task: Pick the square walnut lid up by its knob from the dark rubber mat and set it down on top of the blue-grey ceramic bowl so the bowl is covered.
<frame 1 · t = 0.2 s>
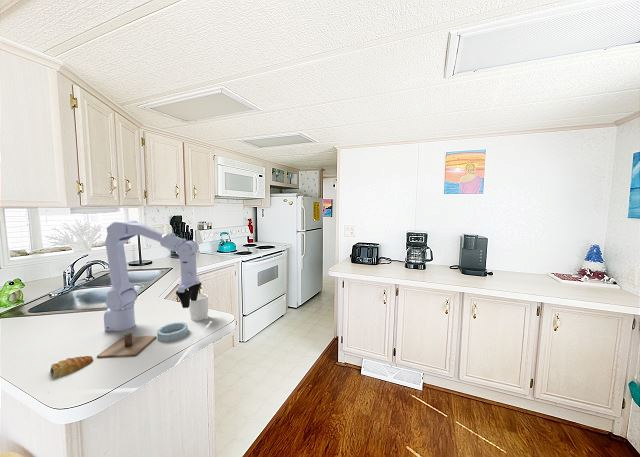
hand: (190, 303, 104), 10 cm above the worktop, tool pointing down, fingers open, 7 cm apart
white cup: (199, 319, 113), on the worktop
mat: (128, 349, 89), on the worktop
bowl: (173, 336, 98), on the worktop
lid: (128, 346, 89), point 1 cm above the worktop, touching mat
pastry: (69, 371, 78), on the worktop
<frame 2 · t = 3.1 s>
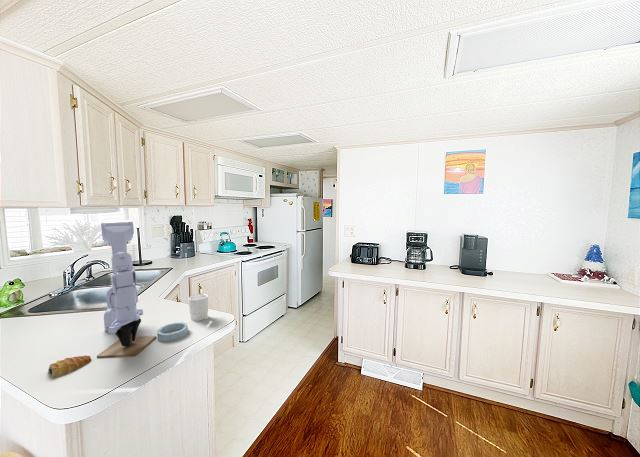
hand: (128, 343, 89), 2 cm above the worktop, tool pointing down, fingers closed on lid, 2 cm apart
lid: (128, 346, 89), point 1 cm above the worktop, touching gripper, mat
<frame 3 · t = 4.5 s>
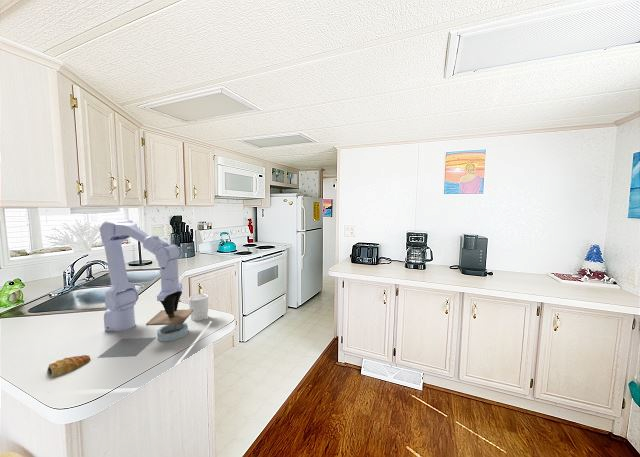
hand: (171, 312, 97), 9 cm above the worktop, tool pointing down, fingers closed on lid, 2 cm apart
lid: (171, 317, 97), point 7 cm above the worktop, touching gripper
when the fingers open (6 cm above the worktop, at t = 5.8 s): lid stays where it is, resting on bowl.
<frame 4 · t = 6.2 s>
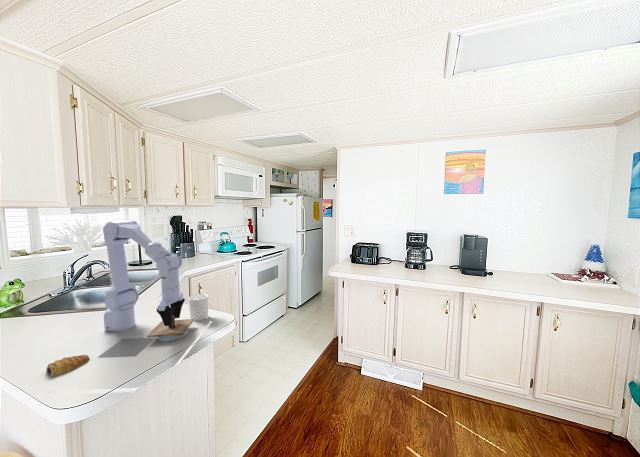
hand: (172, 321, 97), 6 cm above the worktop, tool pointing down, fingers open, 6 cm apart
lid: (172, 328, 98), point 3 cm above the worktop, touching bowl
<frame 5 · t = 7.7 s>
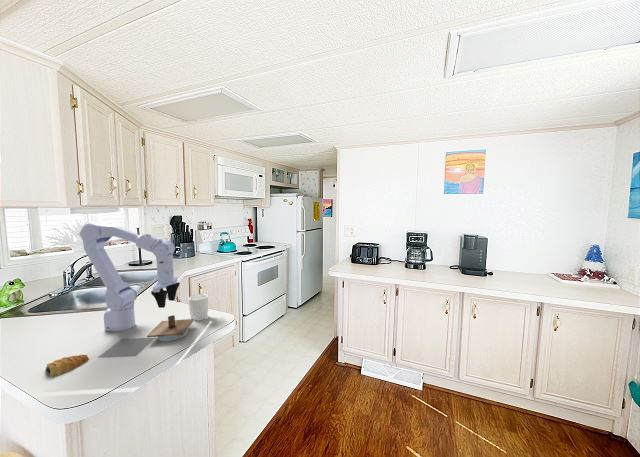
hand: (167, 303, 105), 10 cm above the worktop, tool pointing down, fingers open, 7 cm apart
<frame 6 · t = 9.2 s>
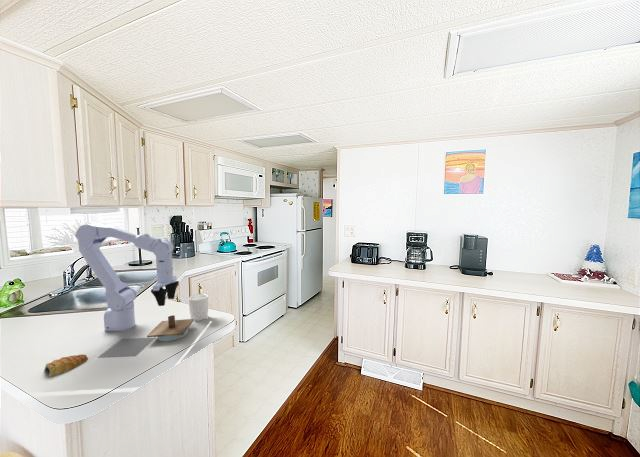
hand: (166, 302, 106), 10 cm above the worktop, tool pointing down, fingers open, 7 cm apart
at the end: lid 0.2 cm off-centre on the bowl, point 3.2 cm above the bowl's base; lid tilted 0°; the gripper is holding nothing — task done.
